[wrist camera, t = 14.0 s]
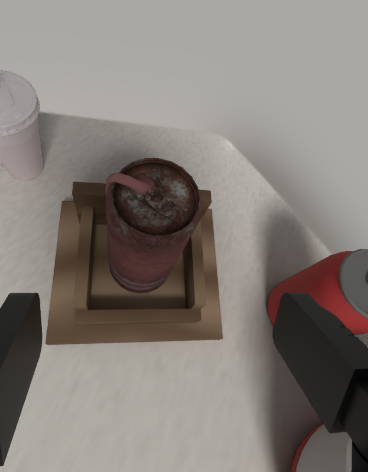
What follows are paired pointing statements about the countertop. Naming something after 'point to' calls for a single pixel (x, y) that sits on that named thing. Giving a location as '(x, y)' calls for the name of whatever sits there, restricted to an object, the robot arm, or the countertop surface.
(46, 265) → the countertop surface
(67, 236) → the dock
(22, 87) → the smoothie
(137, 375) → the countertop surface
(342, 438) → the citrus juicer
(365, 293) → the beer can
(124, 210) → the can
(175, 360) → the countertop surface
